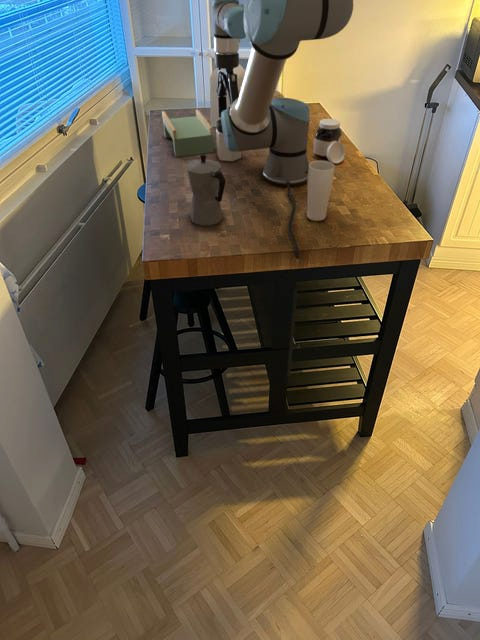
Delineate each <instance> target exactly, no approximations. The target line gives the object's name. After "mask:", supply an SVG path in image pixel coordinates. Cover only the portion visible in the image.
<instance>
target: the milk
mask: <svg viewBox="0 0 480 640" xmlns="http://www.w3.org/2000/svg"><path fill="white" fill-rule="evenodd" d="M245 72H246V69H245V68H244V67H243V66H242V64H240V63H239V66H238V67H236V68H234V69H233V73H234V74H237V84H238V92H239V95H240V91H241V88H242V84H243V80H244V76H245ZM217 75H218V68H217V67H216V68H215V69H214V70H213V71H212V72H211V74H210V78H209V97H210V98H209V108H210V110H209V115H210V116H209V117H210V118H209V120H210V122H209V124H210V125H211V126H212V127H213V128H217V124H216V122H217V121H218V120H220V119H221V117H220V118H219V107H218V97H219V96H218V95H217V92H216V86H217ZM226 92H227V90H226ZM226 100H227V109H228V108H229V107H230V104H229V99H228V94H227V96H226Z"/></svg>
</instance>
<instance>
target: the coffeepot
mask: <svg viewBox="0 0 480 640" xmlns="http://www.w3.org/2000/svg"><path fill="white" fill-rule="evenodd" d="M199 157H200V159H196V158H195V159H190V160H187V162H188V164H186V165H185V169H186V173H187V178H188V182H189V186H190V190H191V192H192V197H191V205H190V215H189V216H190V219H191V221H192V223H193V224H195V225H197V226H201V227H210V226H215V225H217V224H219V223H220V222H221V221H222V220H223V219H224V216H223V211H222V206H221V202H222V200H223V196H224V191H225V187H226V178H225V175H224V174H223V172H222V165H221V164H220V162H219V161H216V160H211V159H207V155H206V154H199Z"/></svg>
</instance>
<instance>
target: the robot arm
mask: <svg viewBox="0 0 480 640" xmlns="http://www.w3.org/2000/svg"><path fill="white" fill-rule="evenodd" d="M211 7H212V20H213V50H214V52H215V53H214V66H215V67H216V68H218V75H217V86H216V92H217V95H218V96H219V97H218V107H219V118H220V117H221V123H222V130H223V136H224V140H225V144H226V147H227V149H228V150H229V151H231V152H236V151H239V152H241V153H242V152H247V151H255V150H262V149H269V152H268V156H267V158H266V161H265V163H264V167H263V170H262V178H263V179H264V181H265V182H267V183H268V184H271V185H274V186H279V187H286V192H287V197H288V198H289V200H290V202H291V203H292V204H291V206H292V207H291V210H290V214H289V219H288V223H287V224H288V225H287V230H288V235H289V238H290V241H291V243H292V247H293V248H294V251H295V258H296V259H298V260H299V259H300V250H299V246H298V244H297V243H296V239H295V236H294V234H293V230H292V224H293V218H294V214H295V211H296V207H297V206H296V201H295V199H294V197H293V195H292V193H291V187H297V186H301V185H304V184H307V179H308V168H309V164H310V163H309V159H308V154H307V153H308V151H307V150H308V140H309V131H310V130H309V129H310V121H311V119H310V107H309V105H308V104H307V103H306V102H304V101H302V100H299V99H296V98H290V97H284V98H275V99H272V98H273V95H274V93H275V91H277V90H276V89H277V87H278V84H279V82H280V79H281V75H282V73H283V70H284V67H285V65H286V62H287V60H288V59H290V58H292V57H293V56H294V55H295V54H296V52H297V50H298V48H299V45H300V44H301V42H302V41H303V42H304V41H316V40H324V39H329V38H331V37H334V36H335V35H337V34H339V33H340V32H341V31H343V30H344V29H345V28H346V27H347V25H348V24H349V22H350V21H351V19H352V15H353V11H354V0H244V3H241V4H240V0H212V6H211ZM245 38H246V39H247V41H248V42H249V44H250V45H251V49H250V53H249V57H248V59H247V60H248V61H247V64H246V68H245V76H244V80H243V84H242V88H241V91H240V95H239V92H238V84H237V74H234V73H233V69H234V68H236V67H238V66H239V64H240V53H239V50H240V47H239V46H240V45H239V43H241V40H242V39H243V40H244V39H245ZM226 90H227V92H226ZM227 94H228V99H229V104H230V107H229V108H228V109H227V100H226V96H227ZM292 297H293V298H292V299H293V300H292V310H291V311H292V313H291V325H290V338H289V347H288V348H289V350H288V361H287V371H286V376H287V377H289V378H290V377H291V369H292V360H293V359H292V358H293V357H292V356H293V348H294V347H293V346H294V335H295V327H296V326H295V324H296V312H297V301H298V288H296V289H293V295H292Z"/></svg>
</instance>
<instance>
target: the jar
mask: <svg viewBox="0 0 480 640" xmlns="http://www.w3.org/2000/svg"><path fill="white" fill-rule="evenodd" d="M216 124H217V127H216V128H215V135H216V139H215V141H216V156H217V158H218V160H219V161H222V162H223V161H225V162H235V161H237V160H240V159H242V151H241V152H239V151H236V152H231V151H229V150H228V149H227V147H226V144H225V140H224V136H223V130H222V123H221V119H220V120H218V121H217V122H216Z"/></svg>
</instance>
